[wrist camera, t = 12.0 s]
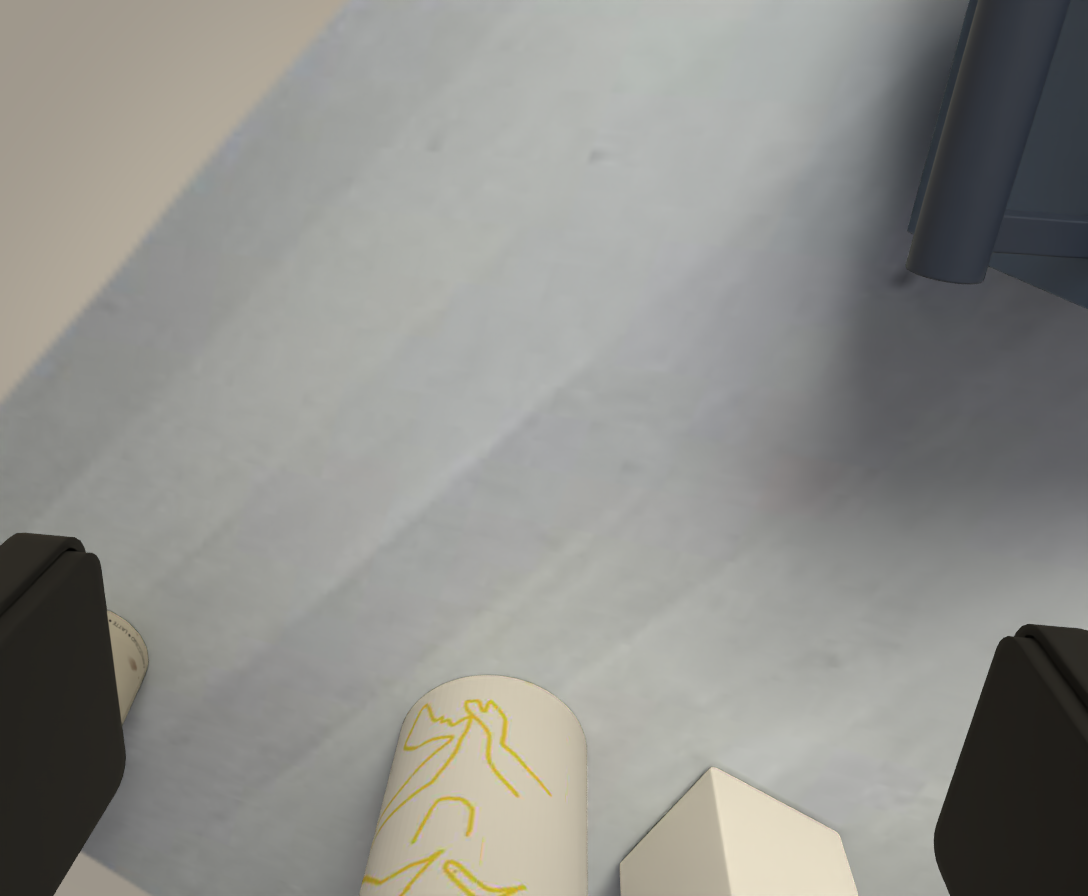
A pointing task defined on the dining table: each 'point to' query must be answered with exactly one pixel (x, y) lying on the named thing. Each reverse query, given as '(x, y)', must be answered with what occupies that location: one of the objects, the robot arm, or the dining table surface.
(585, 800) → the cup
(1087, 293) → the blue drawer with handle
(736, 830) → the milk carton
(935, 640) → the dining table surface
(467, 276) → the dining table surface
